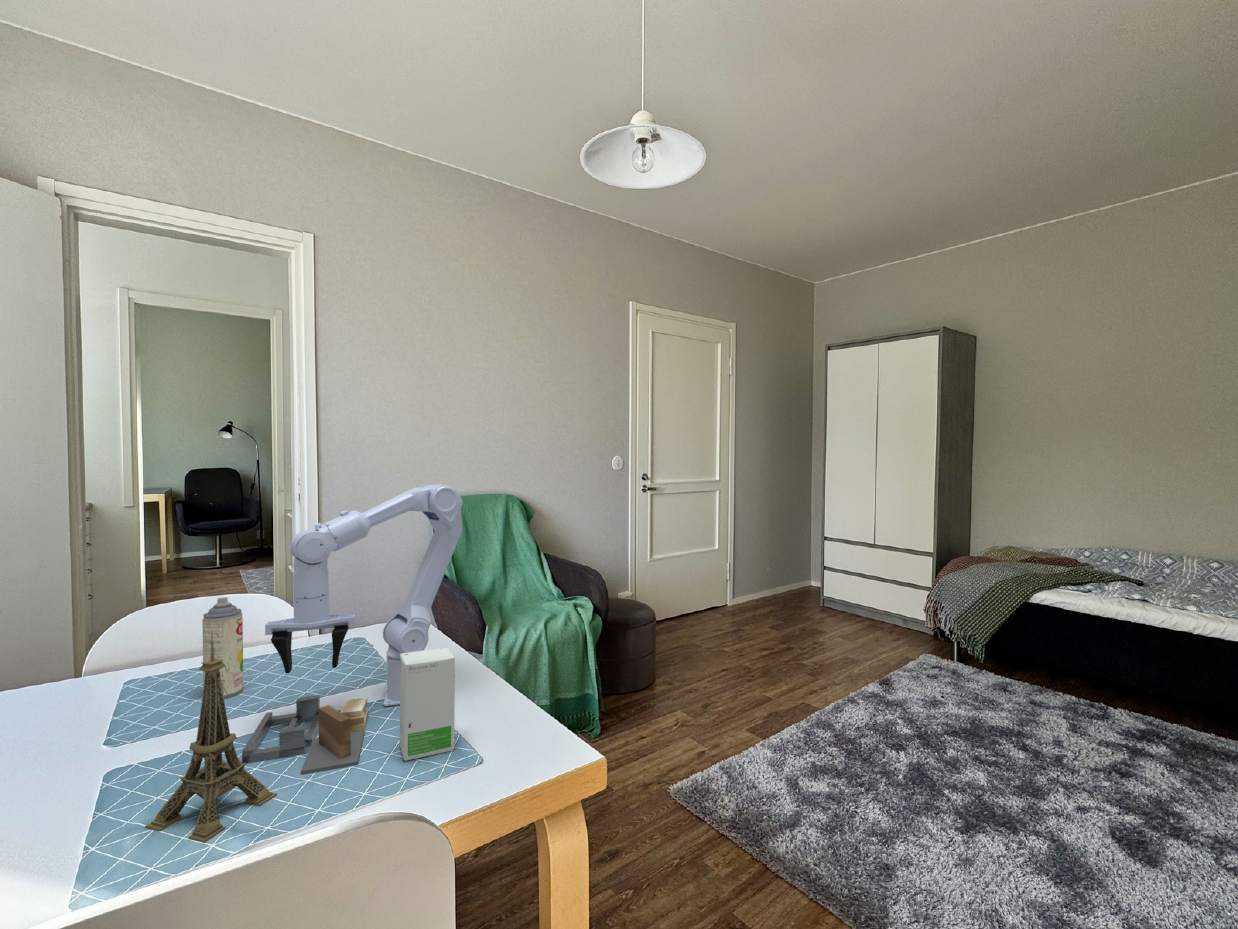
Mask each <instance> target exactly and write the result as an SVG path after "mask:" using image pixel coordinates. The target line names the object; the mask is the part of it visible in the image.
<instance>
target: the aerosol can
mask: <svg viewBox="0 0 1238 929" xmlns="http://www.w3.org/2000/svg"><path fill="white" fill-rule="evenodd" d="M228 600H229V599H228V597H227V596H222V597H221V596H220V597H218V598H217V603H215V604H214V605H213V607H211V608H210V609H209V610H208V611H207V612H206V613H203V616H202V617H203V618H202V619H201V620H202V662H205V661H207V660H210V658H211V642H212V635H213V649H214V658H216V659H223V661H221V662H222V663H223V664H225V665H226V666H224V667H223V668H221V669H219V671H220V677H221V684H222V690H223V697H224V700H226V699H227V700H228V699H230V698H232V697H236V696H238V695H240V694H242V693H243V692H244V641H243V640H244V636H243V635H244V634H243V633H244V631H243V625H244V624H243V623H244V622H243V621H244V620H243V619H244V618H243V612H242V609H240V608H237V606H236V605H234V604H232V603H231V602H230V601H228ZM211 631H212V632H211ZM202 673H203V674H202V675H203V676H202V680H203V681H202V682H203V684H202V686H203V688H204V680H205V671H202ZM203 688H202V689H203Z"/></svg>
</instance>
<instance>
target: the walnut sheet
mask: <svg viewBox="0 0 1238 929" xmlns="http://www.w3.org/2000/svg"><path fill="white" fill-rule="evenodd" d="M318 717H319V726H318V737H319V744H320V745H321V746H323V747H324V748H326V749H327V750H329V751H330V752H331V753H333V754H334V755H336V756H337V757H338V758H340V759H342V758H345V757H347V756H350V755H351V727H350V718H349V717H347V716H346V715H344V714H342V713H341V712H340V711H339V710H337V709H336V708H334V707H333V706H331V705H329V704H328V705H324V706H320V708H318Z"/></svg>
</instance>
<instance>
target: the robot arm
mask: <svg viewBox="0 0 1238 929" xmlns="http://www.w3.org/2000/svg"><path fill="white" fill-rule="evenodd" d="M463 504H464V501H463V499H462V497H461V496H460V494H459V492H458V490H457V489H456V488H455V487H454V486H452V485H450V484H435V483H424V484H422V485H421V486H419V487H418V486H417V487H414V488H411V489H408V490H407V491H405V492H402V493H400V494H398V495H397V496H393V497H392V498H390V499H387V501H384V502H381V503H380V504H378V505H376V506H374V507H371V508H370V509H368V510H365V511H364V512H361V511H357V510H351V511H348V510H343V511H340V512H339V515H340V516H337V517H335V518H333V519H331V520H328V521H326V522H324V523H321V522H317V523H316V524H314V529H305V530H301V531H299V532H297V533H296V534H295V536H294V537H292V540H291V542H290V545H289V546H288V548H289V552H290V554H291V555H292V556H293V557H294V558H293V573H292V575H293V576H292V583H293V584H292V586H293V587H292V588H293V591H292V592H293V597H292V598H293V617H292V618H288V619H287V618H285V619H281V620H272V621H267V622H266V623H265V625H264V632H265V633H264V636H271V635H272V636H271V638H270V642H271V644H272V645H273V647H274V648H275V649H276V650H275V651H277V653H278V655H279V657H280V660H281V663H282V665H283V670H284V674H290V673H291V671H292V670H293V656H292V639H293V632H294V633H295V632H303V631H312V630H322V629H323V630H324V629H332V631H331V640H332V641H331V642H332V658H331V659H332V660H331V665H332V669H336V668H338V665H339V658H340V652H341V649H342V645H343V643H344V640H345V638H346V635H347V633H348V631H349V628H354V627H355V626H356V613H352V614H351V613H350V614H330V611H329V610H330V601H329V600H330V599H329V596H330V595H329V594H330V593H329V568H328V567H329V565H328V558H330V556H331V555H332V552H334V553H336V552H338V551H339V550H341V549H343V548H345V547H348V546H350V545H352V544H354V543H356V542H358V541H361V540H362V539H364V538H366V537H368V535H369V532H370V530H371V528H373V527H374V526H378V525H379V524H382V523H385V522H387V521H389V520H391V519H394V518H396V517H398V516H401V515H403V514H406V513H408V512H421V513H422V514H424V515H425V517H427V518H428V520H429V522H430V524H431V526H432V529H433V530H434V531H433V535H432V537H431V540H430V541H429V544H428V546H427V549H426V550H425V553H424V555H423V557H422V560H421V562H420V565H419V566H418V569H417V572H416V575H415V576H414V579H413V582H412V583H411V586H410V589H409V590H408V593H407V595H406V598H405V600H404V602H403V603H401V605H399V607H397V608H396V610H395V612H394V614H393V616H392V617H391V618H390V619H388V620H387V622H386V623H385V625H384V627H383V629H382V638H383V640H384V642H385V643H386V644H387V645H388V648H387V651H386V690H385V694H384V700H383V706H384V707H389V706H390V707H391V706H397V705H400V669H401V662H400V654H402V653H410V652H418V651H422V650H426V647H427V645H428V642H429V629H430V626H431V624H432V618H431V614H430V610H431V608H432V605H433V602H434V601H435V598H436V596H437V593H438V591H439V588H440V586H441V583H442V582H443V579H444V576H445V574H446V571H447V568H448V567H449V564H450V561H451V559H452V557H453V554H454V552H455V550H456V547H457V545H458V542H459V540H460V538H461V536H462V531H463V519H462V518H463V516H462V506H463Z"/></svg>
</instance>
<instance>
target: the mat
mask: <svg viewBox="0 0 1238 929" xmlns="http://www.w3.org/2000/svg"><path fill="white" fill-rule="evenodd" d="M365 732H366V731H365V730H363V731H357V732H351V755H350V756H347V757H345V758H342V759H340V758H338V757H337V756H336V755H334V754H333V753H331V752H330V751H329V750H327V749H326V748H324V747H323V746H321V745H320V744H319V736H318V737H314V739H313V741H312V744H311V747H309V749H308V751H307V753H306V757H305V759H304V763H303V764H302V767H301V770H300V775H305V774H311V773H316V772H317V773H318V772H324V771H328V770H329V771H330V770H334V769H340V768H346V767H347V768H348V767H351V766H357V765H358V764H359V761H360V756H361V751H362V746H363V743H364V742H363V741H364V737H365Z"/></svg>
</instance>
